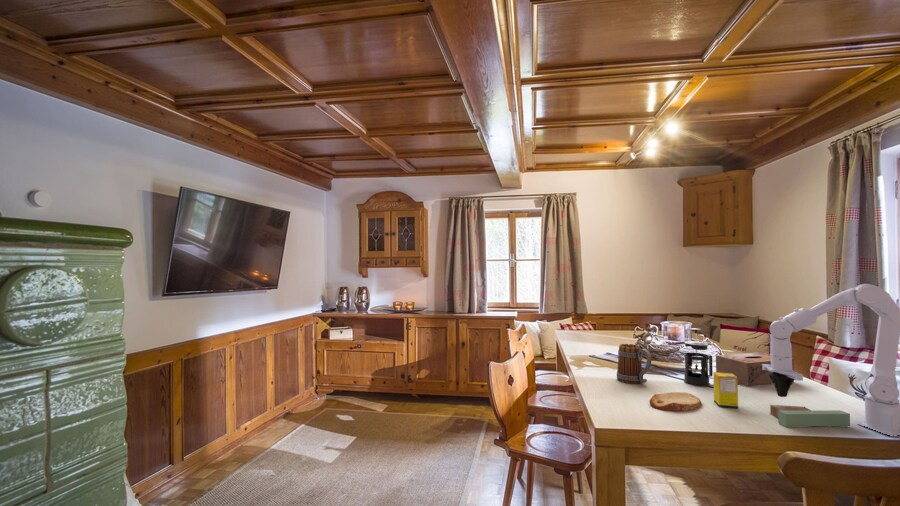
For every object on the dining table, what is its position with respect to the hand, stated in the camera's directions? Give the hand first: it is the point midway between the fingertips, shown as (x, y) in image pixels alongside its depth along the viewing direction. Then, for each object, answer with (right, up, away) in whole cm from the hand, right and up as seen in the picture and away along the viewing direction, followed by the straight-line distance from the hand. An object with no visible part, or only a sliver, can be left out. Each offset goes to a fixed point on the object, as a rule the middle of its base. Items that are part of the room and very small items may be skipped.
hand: (782, 396), depth 140 cm
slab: (-2, -5, -7) cm, 9 cm away
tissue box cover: (+19, -7, +39) cm, 44 cm away
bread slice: (-32, -6, +7) cm, 34 cm away
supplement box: (-15, -6, +6) cm, 17 cm away
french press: (-9, -6, +33) cm, 35 cm away
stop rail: (0, -5, -12) cm, 13 cm away
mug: (-35, -6, +35) cm, 50 cm away
